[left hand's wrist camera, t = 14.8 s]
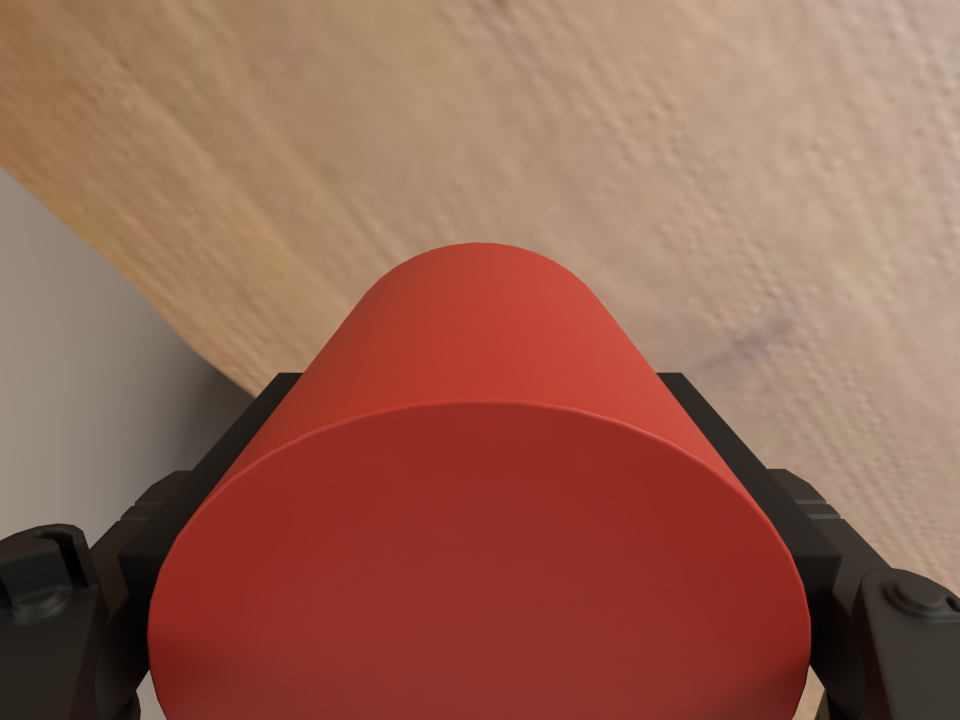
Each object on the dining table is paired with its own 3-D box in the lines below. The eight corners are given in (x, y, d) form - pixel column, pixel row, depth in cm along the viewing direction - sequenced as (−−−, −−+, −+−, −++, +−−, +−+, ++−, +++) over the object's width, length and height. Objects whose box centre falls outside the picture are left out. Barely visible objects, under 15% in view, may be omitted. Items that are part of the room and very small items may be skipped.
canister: (675, 306, 15) (962, 539, 6) (554, 537, 18) (627, 922, 9) (383, 194, 14) (212, 279, 5) (304, 459, 17) (107, 811, 8)
